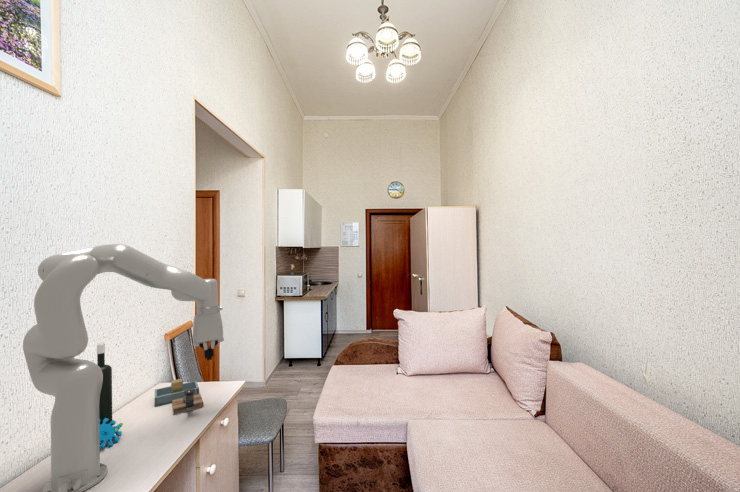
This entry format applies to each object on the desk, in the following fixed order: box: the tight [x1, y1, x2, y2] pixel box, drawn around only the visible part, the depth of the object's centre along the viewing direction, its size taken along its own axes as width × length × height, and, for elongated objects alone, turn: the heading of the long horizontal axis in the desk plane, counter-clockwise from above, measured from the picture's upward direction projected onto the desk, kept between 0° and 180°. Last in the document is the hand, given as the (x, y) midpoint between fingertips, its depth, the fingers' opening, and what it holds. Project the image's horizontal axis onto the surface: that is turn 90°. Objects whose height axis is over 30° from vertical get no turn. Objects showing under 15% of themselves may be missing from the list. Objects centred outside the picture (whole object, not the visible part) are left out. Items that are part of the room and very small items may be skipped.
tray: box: [154, 380, 200, 408], centre depth 137 cm, size 11×16×4 cm
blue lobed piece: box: [99, 418, 124, 450], centre depth 103 cm, size 11×6×10 cm
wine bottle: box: [96, 342, 113, 426], centre depth 112 cm, size 6×6×30 cm
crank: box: [183, 388, 195, 412], centre depth 124 cm, size 13×4×7 cm, turn 34°
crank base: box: [171, 393, 204, 416], centre depth 128 cm, size 10×10×2 cm
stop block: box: [170, 378, 184, 394], centre depth 137 cm, size 4×4×6 cm
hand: (209, 359), depth 124 cm, fingers closed
